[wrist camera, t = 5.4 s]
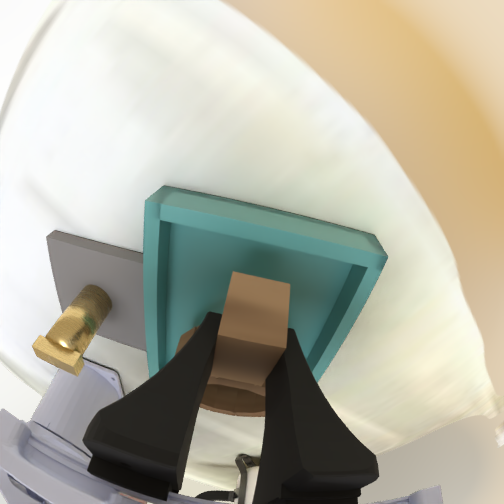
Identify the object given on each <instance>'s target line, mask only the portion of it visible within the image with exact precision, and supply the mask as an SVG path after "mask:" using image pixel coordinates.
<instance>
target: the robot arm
mask: <svg viewBox="0 0 504 504" xmlns="http://www.w3.org/2000/svg"><path fill="white" fill-rule="evenodd" d="M221 318H222V314H219V313H215V312H211V311H210V312H207V314H206V316H205V318H204V319H203V321H202V323H201V324H200V326H199V327H198V329H197V330H196V331H195V333H194V334H193V335H192V337H191V338H190V339H189V340H188V342H187V343H186V344H185V345H184V346H183V347H182V349H181V350H180V351H179V352H178V353H177V354H176V355H175V356H174V357H173V358H172V359H171V360H170V361H169V362H168V363H167V364H166V365H165V366H164V367H163V368H162V369H161V370H159V371H158V372H157V373H156V374H155V375H154V376H152V377H151V378H150V379H149V380H147V381H146V382H145V383H143V384H142V385H141V386H139V387H138V388H136V389H135V390H133V391H132V392H130V393H129V394H127V395H126V396H124V395H123V392H122V388H121V384H120V381H119V377H118V374H117V373H116V372H114V371H112V370H109V369H107V368H104V367H102V366H99V365H97V364H94V363H92V362H89V361H87V360H84V359H83V361H84V364H85V365H84V366H83V368H82V370H81V372H80V373H79V375H78V377H77V376H75V375H73V374H71V373H68V372H66V371H64V370H62V369H59V370H58V372H57V374H56V375H55V377H54V379H53V380H52V382H51V384H50V385H49V387H48V389H47V391H46V392H45V394H44V396H43V398H42V399H41V401H40V403H39V405H38V407H37V409H36V410H35V412H34V414H33V416H32V418H31V420H30V421H29V422H27V423H25V422H24V421H23V420H19V419H17V418H16V417H15V416H13V415H12V414H10V413H9V412H8V411H6V410H5V409H1V411H0V492H1V493H2V495H3V497H4V499H5V500H6V502H7V503H8V504H143V503H141V502H138V501H135V500H133V499H130V498H128V497H125V496H123V495H120V494H119V492H121V493H123V494H126V495H129V496H132V497H134V498H137V499H140V500H144V501H147V502H150V503H153V504H228V503H221V502H215V501H209V500H204V499H199V498H194V497H189V496H185V495H181V494H178V492H179V490H181V487H182V482H183V477H184V472H185V468H186V463H187V458H188V453H189V449H190V444H191V440H192V435H193V431H194V426H195V422H196V417H197V413H198V410H199V406H200V404H201V401H202V398H203V395H204V392H205V389H206V386H207V383H208V380H209V377H210V374H211V371H212V367H213V359H214V353H215V347H216V341H217V336H218V331H219V327H220V323H221ZM13 477H14V478H15V479H14V478H13ZM378 477H379V470H378V463H377V460H376V455H374V454H373V453H372V452H371V451H370V450H369V449H368V448H367V447H366V446H364V445H363V444H362V443H361V442H360V441H359V440H358V439H357V438H356V437H355V436H354V435H353V434H352V433H351V431H350V430H349V429H348V428H347V427H346V425H345V424H344V423H343V422H342V420H341V419H340V418H339V417H338V415H337V414H336V413H335V411H334V410H333V408H332V407H331V406H330V404H329V402H328V401H327V399H326V398H325V396H324V394H323V393H322V391H321V389H320V387H319V386H318V384H317V382H316V380H315V378H314V376H313V374H312V372H311V370H310V367H309V365H308V363H307V361H306V359H305V356H304V354H303V351H302V349H301V346H300V343H299V341H298V338H297V335H296V332H295V330H294V329H292V328H288V331H287V344H286V349H285V351H284V352H283V354H282V356H281V357H280V359H279V360H278V362H277V363H276V365H275V366H274V368H273V370H272V371H271V372H270V374H269V375H268V377H267V378H266V379H265V429H264V437H263V445H262V452H261V459H260V465H259V471H258V476H257V482H256V487H255V492H254V496H253V501H252V504H358V497H359V496H360V495H361V488H362V487H364V486H366V485H368V484H370V483H372V482H374V481H376V480H377V478H378ZM17 480H18V481H19V482H18V481H17ZM21 483H22V484H21ZM367 504H443V500H442V493H441V487H440V485H436V486H433V487H429V488H426V489H423V490H419V491H417V492H414V493H412V494H410V495H409V496H405V497H401V498H396V499H392V500H386V501H380V502H374V503H367Z"/></svg>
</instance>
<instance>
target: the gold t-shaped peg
mask: <svg viewBox="0 0 504 504" xmlns="http://www.w3.org/2000/svg"><path fill="white" fill-rule="evenodd" d="M111 309H112V301H111V299H110V297H109V296H108V294H107V293H106V292H105V291H104V290H103V289H102V288H100V287H98V286H96V285H92V284H89V285H86V286H85V287H84V288H83V289H82V290H81V292H80V293H79V294H78V295H77V296H76V298H75V299H74V300H73V301H72V302H71V304H70V305H69V306H68V307H67V309H66V310H65V311H64V313H63V314H62V315H61V316H60V318H59V319H58V320H57V322H56V323H55V324H54V325H53V327H52V328H51V329H50V331H49V332H48V333H47V335H46V337H43V336H41V335H40V336H39V337H38V338H37V340H36V341H35V342H34V344H33V345H32V347H33V349H34V351H35V354H36V356H37V357H39V358H41V359H42V360H44V361H46V362H48V363H50V364H52V365H54V366H56V367H58V368H60V369H62V370H64V371H66V372H68V373H71V374H73V375H75V376H77V377H78V375H79V373H80V372H81V370H82V368H83V366H84V365H85V364H84V361H83V358H82V355H83V353H84V352H85V350H86V349H87V347H88V345H89V344H90V342H91V340H92V339H93V337H94V336H95V334H96V333H97V331H98V329H99V328H100V326H101V325H102V323H103V322H104V320H105V319H106V317H107V316H108V314H109V313H110V311H111Z"/></svg>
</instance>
